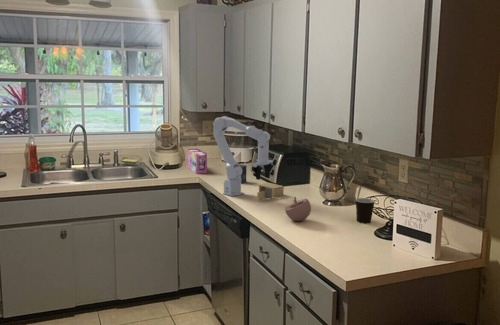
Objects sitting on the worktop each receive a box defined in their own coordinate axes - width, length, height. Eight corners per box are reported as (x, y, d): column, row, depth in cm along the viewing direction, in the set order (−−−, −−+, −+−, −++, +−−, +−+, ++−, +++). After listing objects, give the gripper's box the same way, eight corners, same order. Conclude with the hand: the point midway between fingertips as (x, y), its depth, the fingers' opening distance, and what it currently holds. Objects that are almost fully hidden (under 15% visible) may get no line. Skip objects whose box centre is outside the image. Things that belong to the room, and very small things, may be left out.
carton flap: (273, 197, 271) (273, 185, 269) (279, 199, 267) (280, 186, 266) (257, 200, 263) (257, 188, 262) (263, 202, 259) (264, 190, 258)
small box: (226, 181, 308) (227, 165, 306) (232, 179, 314) (232, 163, 312) (241, 183, 303) (241, 167, 302) (246, 181, 309) (247, 165, 307)
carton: (273, 197, 272) (273, 188, 271) (258, 193, 280) (258, 184, 279) (283, 194, 277) (283, 186, 276) (268, 191, 286) (268, 182, 285)
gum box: (208, 173, 332) (208, 153, 330) (196, 174, 329) (196, 154, 326) (197, 167, 354) (197, 148, 351) (187, 167, 351) (187, 149, 348)
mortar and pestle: (286, 216, 237) (286, 192, 234) (311, 217, 235) (312, 194, 232) (283, 223, 225) (284, 199, 223) (309, 225, 223) (310, 200, 221)
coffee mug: (369, 225, 224) (370, 203, 222) (351, 221, 229) (352, 200, 227) (378, 219, 234) (379, 198, 232) (361, 216, 238) (362, 195, 237)
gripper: (260, 156, 261) (259, 181, 263) (277, 153, 271) (276, 177, 274) (250, 154, 265) (249, 179, 268) (267, 151, 276) (266, 175, 278)
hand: (262, 178), depth 271 cm, fingers open, 7 cm apart
